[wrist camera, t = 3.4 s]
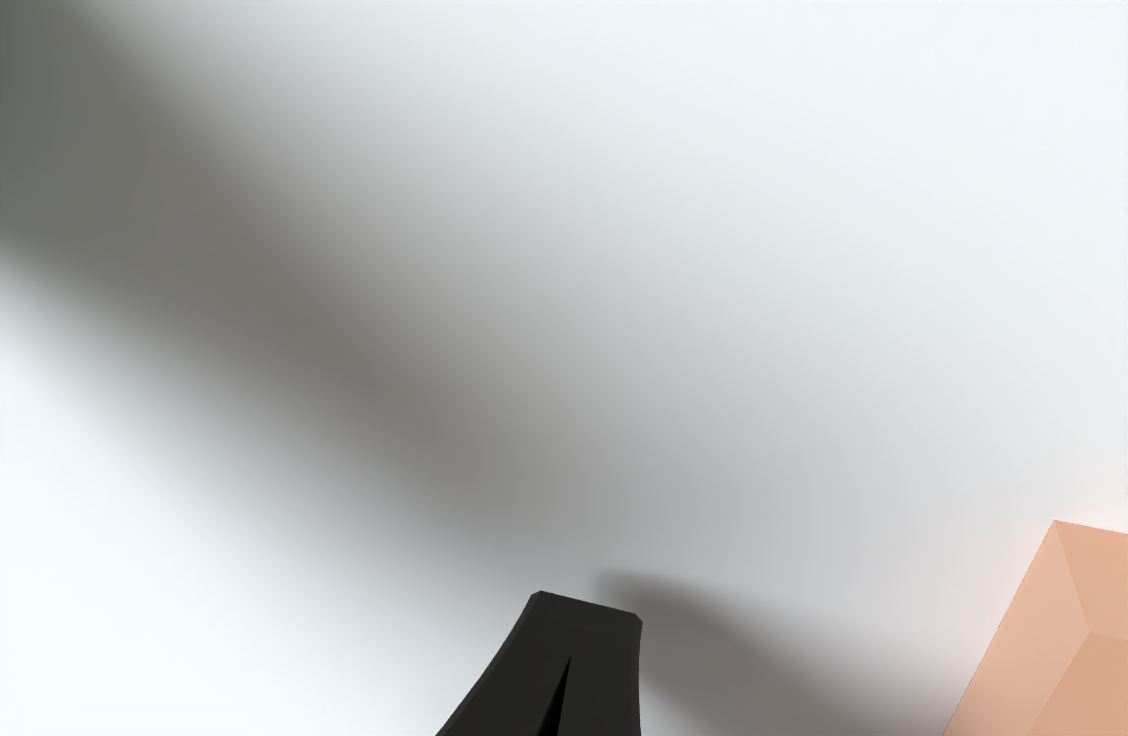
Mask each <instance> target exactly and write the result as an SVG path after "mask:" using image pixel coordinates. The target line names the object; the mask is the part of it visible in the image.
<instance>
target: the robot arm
mask: <svg viewBox="0 0 1128 736" xmlns="http://www.w3.org/2000/svg"><path fill="white" fill-rule="evenodd" d="M642 624H643V622H642V621H641V620H640V619H639V617H638V616H637V615H636V614H634V613H630V612H626V611H622V610H618V609H614V608H610V607H606V606H602V605H597V604H593V603H589V602H585V601H581V600H577V599H573V598H569V597H565V596H561V595H557V594H553V593H549V592H545V591H539V592H537V593H534V594H532V595H531V597H530V599H529V600H528V602H527V604H526V606H525V608H524V610H523V612H522V614H521V615H520V617H519V619H518V620H517V622H516V624H515V625H514V627H513V629H512V631H511V632H510V634H509V635H508V637H507V638H506V640H505V642H504V643H503V645H502V646H501V648H500V649H499V651H498V652H497V654H496V655H495V657H494V658H493V659H492V661H491V662H490V664H489V665H488V667H487V668H486V670H485V671H484V672H483V674H482V675H481V677H480V678H479V680H478V681H477V682H476V684H475V685H474V686H473V688H472V689H471V690H470V691H469V693H468V694H467V695H466V697H465V698H464V699H463V701H462V702H461V703H460V705H459V706H458V707H457V709H456V710H455V711H454V713H453V714H452V715H451V716H450V718H449V719H448V720H447V722H446V723H445V724H444V726H443V727H442V728H441V729H440V731H439V732H438V733H437V734H436V736H641V728H640V710H639V650H640V637H641V630H642Z"/></svg>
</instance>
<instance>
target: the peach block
mask: <svg viewBox="0 0 1128 736" xmlns="http://www.w3.org/2000/svg"><path fill="white" fill-rule="evenodd" d="M943 736H1128V534H1124V533H1119V532H1114V531H1109V530H1103V529H1098V528H1093V527H1088V526H1083V525H1078V524H1072V523H1067V522H1062V521H1057V520H1053V522H1052V524H1051V526H1050V528H1049V530H1048V532H1047V534H1046V536H1045V538H1044V540H1043V542H1042V544H1041V545H1040V547H1039V549H1038V551H1037V553H1036V555H1035V557H1034V559H1033V561H1032V563H1031V565H1030V567H1029V569H1028V571H1027V573H1026V575H1025V577H1024V579H1023V581H1022V582H1021V584H1020V586H1019V588H1018V590H1017V592H1016V594H1015V596H1014V598H1013V600H1012V602H1011V604H1010V606H1009V608H1008V610H1007V612H1006V614H1005V616H1004V617H1003V619H1002V621H1001V623H1000V625H999V627H998V629H997V631H996V633H995V635H994V637H993V639H992V641H991V643H990V645H989V647H988V649H987V651H986V653H985V654H984V656H983V658H982V660H981V662H980V664H979V666H978V668H977V670H976V672H975V674H974V676H973V678H972V680H971V682H970V684H969V686H968V688H967V689H966V691H965V693H964V695H963V697H962V699H961V701H960V703H959V705H958V707H957V709H956V711H955V713H954V715H953V717H952V719H951V721H950V723H949V725H948V726H947V728H946V730H945V732H944V734H943Z"/></svg>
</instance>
